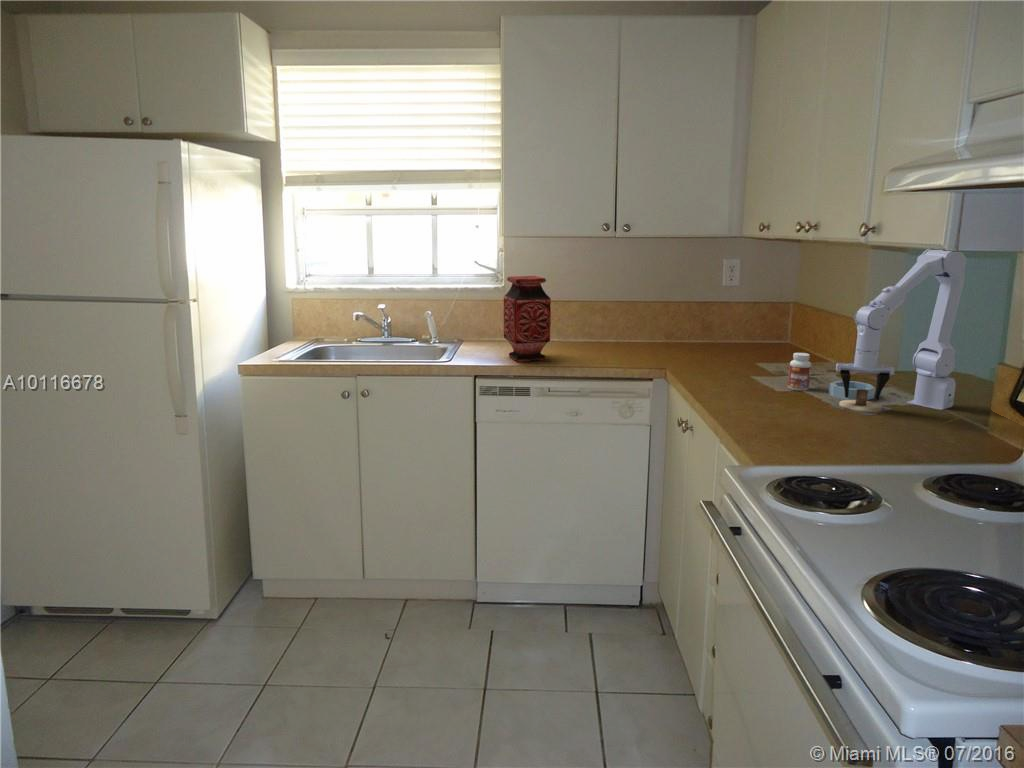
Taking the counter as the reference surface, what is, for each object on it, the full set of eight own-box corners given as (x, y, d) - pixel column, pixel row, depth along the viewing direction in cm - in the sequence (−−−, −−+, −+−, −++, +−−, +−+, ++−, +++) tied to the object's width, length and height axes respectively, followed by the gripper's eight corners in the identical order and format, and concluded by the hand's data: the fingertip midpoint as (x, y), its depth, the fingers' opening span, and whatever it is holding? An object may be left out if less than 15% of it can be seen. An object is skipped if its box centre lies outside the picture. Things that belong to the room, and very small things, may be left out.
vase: (537, 354, 284) (538, 275, 277) (550, 361, 271) (551, 278, 264) (503, 356, 280) (503, 276, 273) (514, 363, 267) (514, 279, 260)
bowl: (879, 397, 220) (881, 386, 219) (859, 403, 213) (860, 391, 213) (843, 390, 229) (844, 379, 228) (822, 395, 222) (823, 384, 222)
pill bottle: (787, 390, 229) (790, 354, 226) (787, 385, 234) (791, 351, 232) (808, 392, 227) (812, 356, 224) (808, 387, 232) (812, 352, 230)
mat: (892, 410, 207) (892, 408, 206) (869, 416, 200) (869, 415, 199) (851, 401, 216) (851, 399, 216) (828, 407, 209) (828, 406, 209)
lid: (889, 408, 207) (892, 391, 205) (869, 414, 200) (871, 396, 199) (852, 400, 215) (854, 383, 214) (831, 406, 209) (833, 388, 208)
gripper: (893, 349, 205) (887, 396, 209) (837, 346, 210) (831, 392, 213) (898, 353, 199) (891, 402, 202) (839, 350, 203) (834, 398, 206)
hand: (861, 397), depth 207 cm, fingers open, 7 cm apart
